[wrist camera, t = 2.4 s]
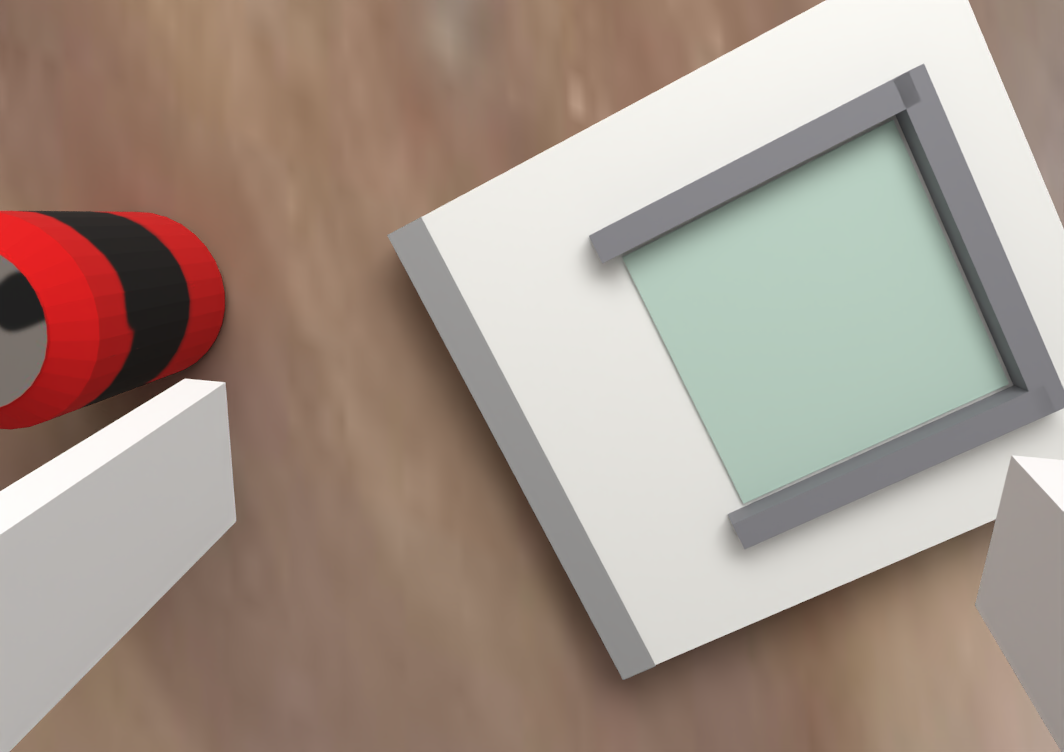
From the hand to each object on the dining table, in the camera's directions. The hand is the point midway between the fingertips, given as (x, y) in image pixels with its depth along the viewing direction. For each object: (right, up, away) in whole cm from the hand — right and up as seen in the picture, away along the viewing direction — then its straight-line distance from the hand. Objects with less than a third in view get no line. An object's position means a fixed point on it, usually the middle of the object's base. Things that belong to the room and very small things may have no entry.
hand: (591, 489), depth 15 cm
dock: (+9, +4, +24) cm, 26 cm away
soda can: (-19, +6, +26) cm, 32 cm away
